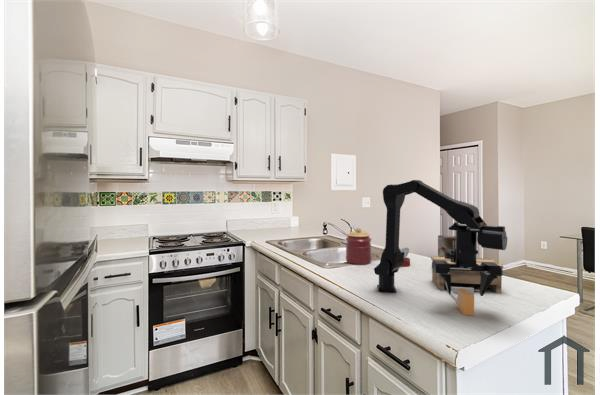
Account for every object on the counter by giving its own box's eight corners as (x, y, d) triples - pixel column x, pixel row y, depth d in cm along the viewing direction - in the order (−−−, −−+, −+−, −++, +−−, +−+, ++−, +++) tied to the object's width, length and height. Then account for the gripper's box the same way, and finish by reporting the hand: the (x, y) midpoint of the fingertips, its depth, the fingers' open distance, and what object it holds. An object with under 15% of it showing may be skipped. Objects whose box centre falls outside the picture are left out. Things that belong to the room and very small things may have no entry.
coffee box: (460, 271, 136) (460, 236, 136) (460, 275, 131) (460, 238, 130) (438, 268, 141) (438, 234, 140) (437, 272, 135) (437, 237, 134)
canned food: (407, 276, 145) (408, 260, 140) (386, 271, 150) (386, 256, 145) (412, 261, 153) (413, 245, 148) (392, 256, 158) (392, 242, 153)
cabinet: (503, 293, 108) (504, 266, 108) (438, 290, 112) (438, 263, 112) (489, 283, 119) (489, 258, 119) (430, 280, 124) (431, 256, 123)
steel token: (485, 292, 110) (485, 290, 110) (472, 292, 111) (472, 289, 111) (480, 288, 115) (480, 286, 115) (468, 288, 116) (468, 286, 116)
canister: (348, 257, 163) (348, 225, 162) (373, 259, 158) (373, 226, 158) (343, 263, 151) (343, 228, 150) (369, 266, 146) (369, 230, 146)
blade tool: (497, 317, 90) (498, 297, 89) (463, 314, 91) (464, 295, 91) (472, 293, 109) (473, 277, 108) (445, 292, 110) (445, 276, 110)
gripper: (487, 241, 99) (486, 287, 100) (428, 239, 103) (427, 284, 103) (504, 248, 88) (502, 300, 89) (436, 246, 92) (436, 296, 92)
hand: (465, 294), depth 94 cm, fingers open, 9 cm apart
